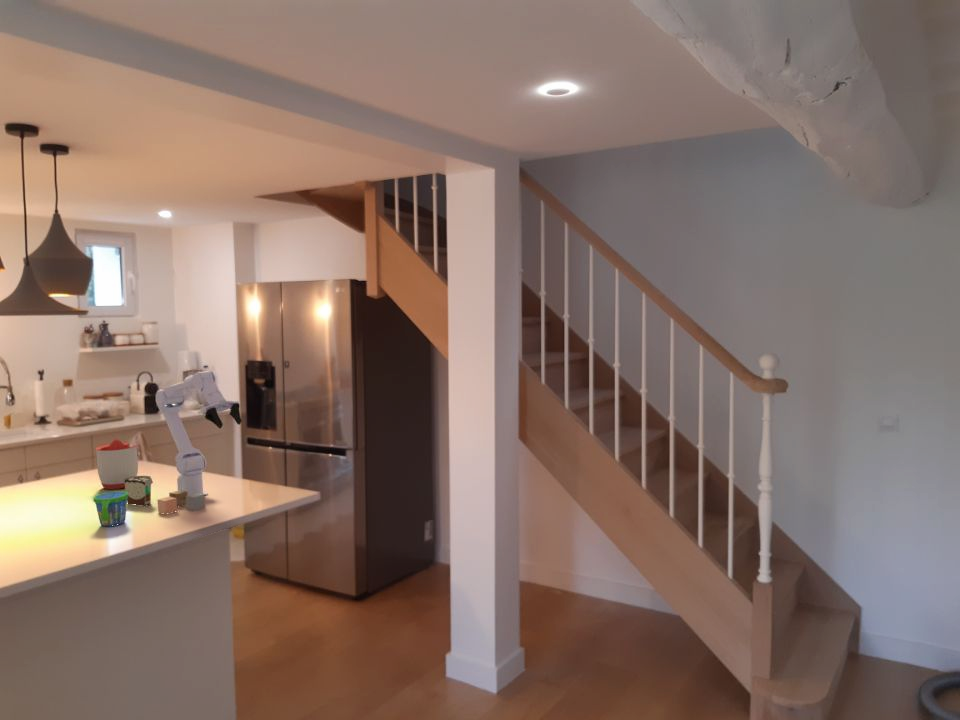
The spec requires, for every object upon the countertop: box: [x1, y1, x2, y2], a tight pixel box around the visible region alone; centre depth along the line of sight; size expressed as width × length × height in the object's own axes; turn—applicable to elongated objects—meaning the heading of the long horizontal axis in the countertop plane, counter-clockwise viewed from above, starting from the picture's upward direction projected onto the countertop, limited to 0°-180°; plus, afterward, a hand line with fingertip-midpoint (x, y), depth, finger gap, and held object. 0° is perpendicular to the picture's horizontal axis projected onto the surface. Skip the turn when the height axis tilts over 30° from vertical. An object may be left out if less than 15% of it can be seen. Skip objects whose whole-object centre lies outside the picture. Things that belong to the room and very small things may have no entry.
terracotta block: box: [156, 496, 178, 515], centre depth 262 cm, size 4×4×5 cm
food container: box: [123, 475, 154, 507], centre depth 276 cm, size 12×6×10 cm, turn 65°
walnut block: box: [168, 489, 188, 508], centre depth 272 cm, size 4×4×5 cm
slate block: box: [185, 493, 206, 512], centre depth 266 cm, size 4×4×5 cm
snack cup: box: [92, 490, 128, 527], centre depth 250 cm, size 16×10×10 cm
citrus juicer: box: [95, 438, 141, 490], centre depth 305 cm, size 16×17×20 cm
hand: (230, 424), depth 266 cm, fingers open, 7 cm apart
